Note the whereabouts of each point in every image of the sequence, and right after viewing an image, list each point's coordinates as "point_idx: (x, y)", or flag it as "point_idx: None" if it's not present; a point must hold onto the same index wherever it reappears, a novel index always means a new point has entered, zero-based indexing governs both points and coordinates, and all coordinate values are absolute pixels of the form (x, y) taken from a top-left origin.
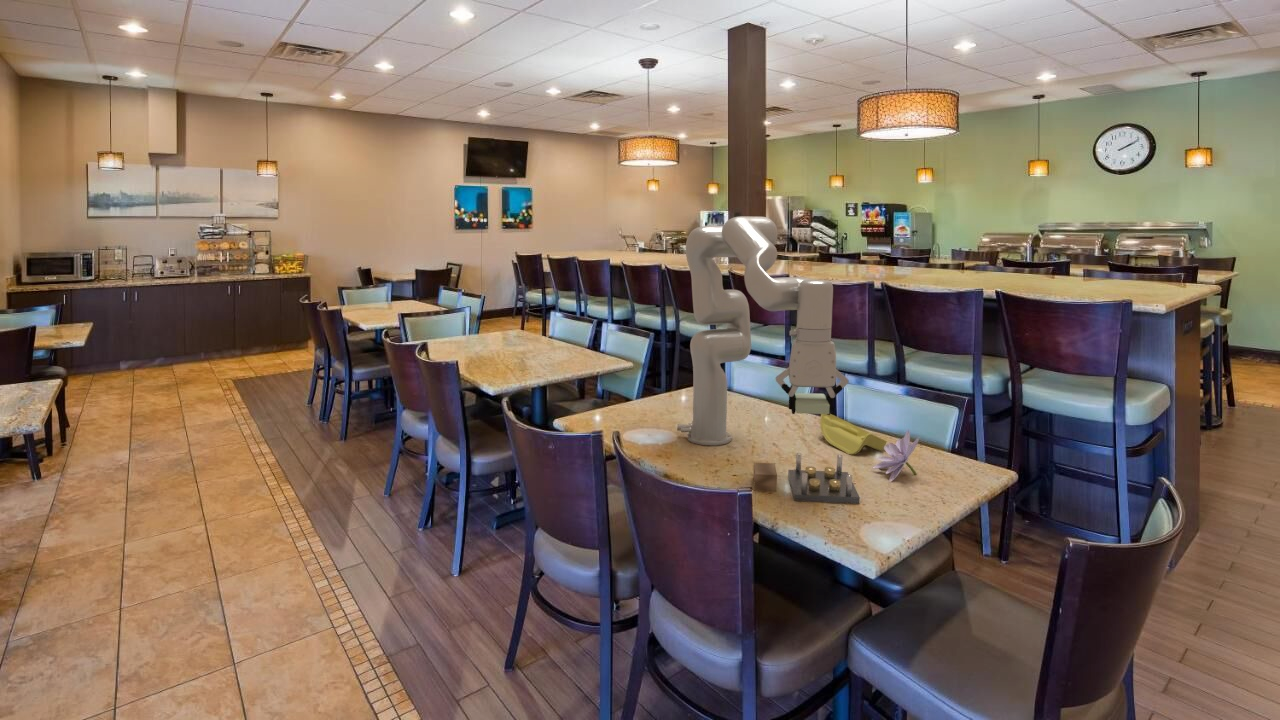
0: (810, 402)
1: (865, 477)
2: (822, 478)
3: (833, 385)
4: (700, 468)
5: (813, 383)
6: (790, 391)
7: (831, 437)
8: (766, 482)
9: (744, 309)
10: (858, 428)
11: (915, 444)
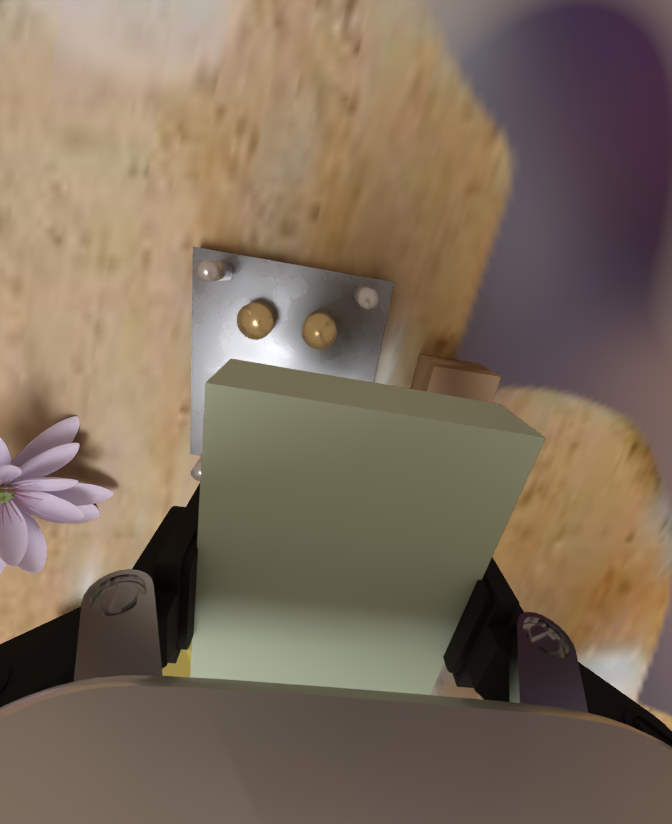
0: (378, 499)
1: (144, 449)
2: None
3: (3, 707)
4: (560, 513)
5: (373, 758)
6: (571, 666)
7: (186, 669)
8: (456, 364)
9: None
10: None
11: None
